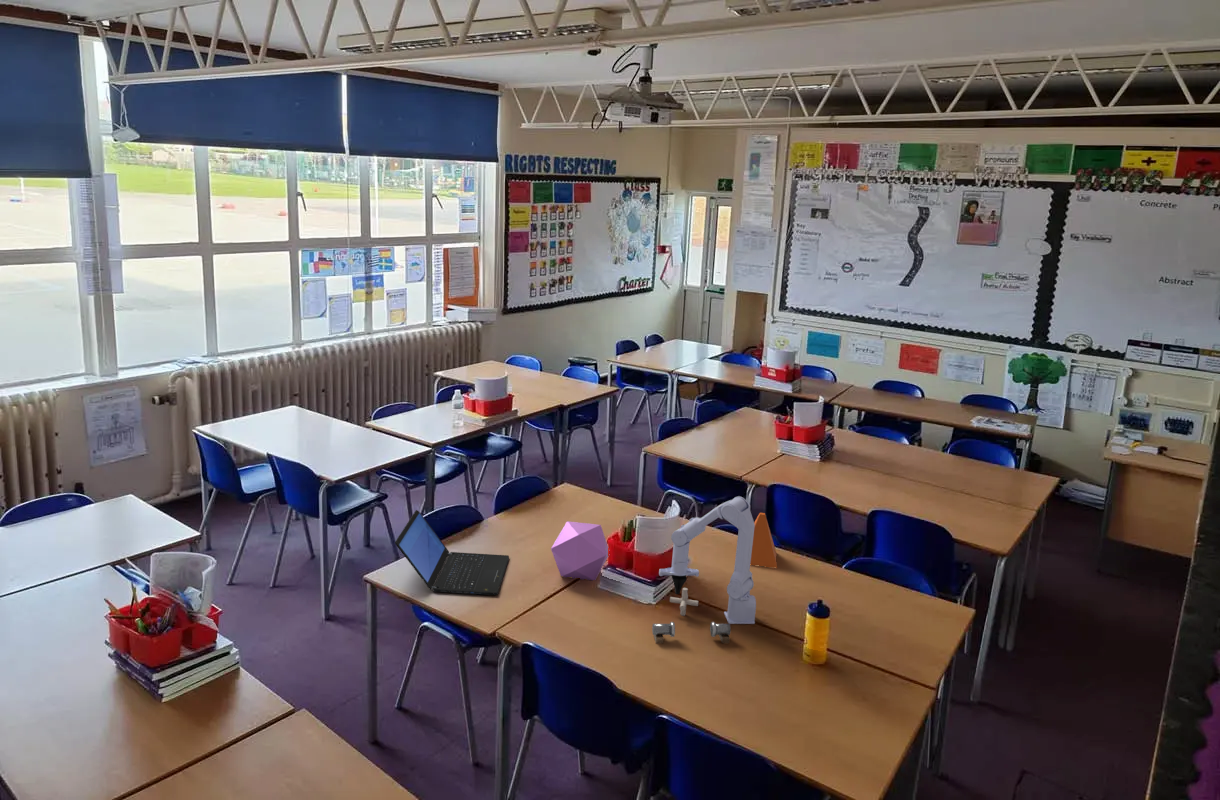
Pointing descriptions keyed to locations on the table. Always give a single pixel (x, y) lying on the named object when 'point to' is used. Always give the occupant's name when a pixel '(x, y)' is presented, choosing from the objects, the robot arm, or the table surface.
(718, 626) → the shaft
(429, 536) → the laptop
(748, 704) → the table surface
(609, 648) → the table surface
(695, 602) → the pipe connector
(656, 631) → the grey metal fitting
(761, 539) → the pyramid
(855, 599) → the table surface
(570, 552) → the icosahedron
